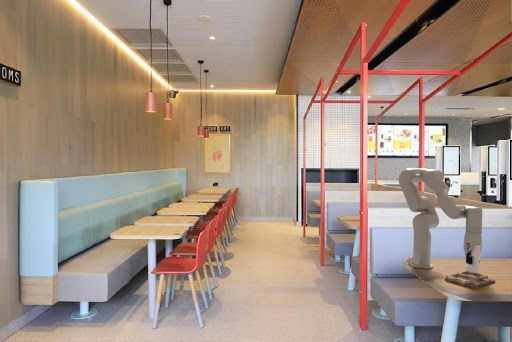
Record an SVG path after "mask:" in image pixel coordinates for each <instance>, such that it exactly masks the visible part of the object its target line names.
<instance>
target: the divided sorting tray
mask: <svg viewBox="0 0 512 342" xmlns="http://www.w3.org/2000/svg"><path fill="white" fill-rule="evenodd" d="M444 281H446V282H450V283H453V284H457V285H459V286H463V287H467V288H470V289H473V290H475V289H478V288H483V287H485V286H488V285H492V284H495V283H496V280H495V279H492V278H489V275H488V274H483V273H480V272H479V273H472V272H468V271H466V270H464V271H459V272H456V273H452V274H448V275H446V277H444Z"/></svg>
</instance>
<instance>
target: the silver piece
mask: <svg viewBox="0 0 512 342" xmlns="http://www.w3.org/2000/svg"><path fill="white" fill-rule="evenodd" d="M468 250H470V251H471V249H470V247H469V249H468ZM469 253H470V252H469ZM481 255H482V249H481V244H480V245H475V250H474V252H472V257H473V261H472V264H467V263H466V269H465V271H468V272H472V273H480V269H479V268H480V267H479V265H480V263H479V260H480V261H481Z"/></svg>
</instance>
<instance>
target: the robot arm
mask: <svg viewBox="0 0 512 342" xmlns="http://www.w3.org/2000/svg"><path fill="white" fill-rule="evenodd" d="M444 179H445V175H444V172H442V171H441V170H440V169H431V168H419V167H418V168H417V167H409V168H404V169H403V170H402V171H401V172H400V173H399V176H398V185H399V186H400V189H401V191H402V193H403V195H404V198H405V201H406V203H407V206H408V208H409V210H410V211H411V212H413V213H417V214H416V215H415V216H414V217H413V218H412V227H413V229H412V230H413V247H412V248H413V250H412V251H413V256H411V255H408V257H407V260H409V261H410V262H409V264H410V266H411V267H415V268H418V269H433V268H434V265H433V264H432V263H431V254H432V253H431V250H432V248H431V247H432V234H431V231H430V229H434V228H437V227H438V226H439V224H440V217H439V215H438V212H437V211H436V207H435V206H434V204H433V202H432V200H431V199H430V198H429V197H428V196H423V195H422V196H421V195H420V192H419V189H418V188H417V186H416V185H415V182H419V183H420V182H421V183H425V185H426V186H427V187H428V188H429V190H430V191H431V192H432V193H433V195H435V197H436V202H437V205H438V206H439V208H440V210H442V212H443V213H444V214H445V215H446V216H447V217H448V218H450V219H452V220H459V219H461V220H462V219H465V232H464V238H463V248H462V249H463V252H464V254H465V264H466V265H467V264H472V261H473V257H472V252H474V250H475V245H480V244H481V250H482V249H483V237H482V232H483V208H482V207H481V206H469V205H466V204H455V203H454V202H453V201H452V199H451V198H450V196H449V191H450V187H449V186H448V184H447V183H446V181H444ZM469 247H470V249H471V251H470V250H468V249H469ZM469 252H470V253H469ZM480 261H481V259H480V260H479V264H480V263H481V262H480Z"/></svg>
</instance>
